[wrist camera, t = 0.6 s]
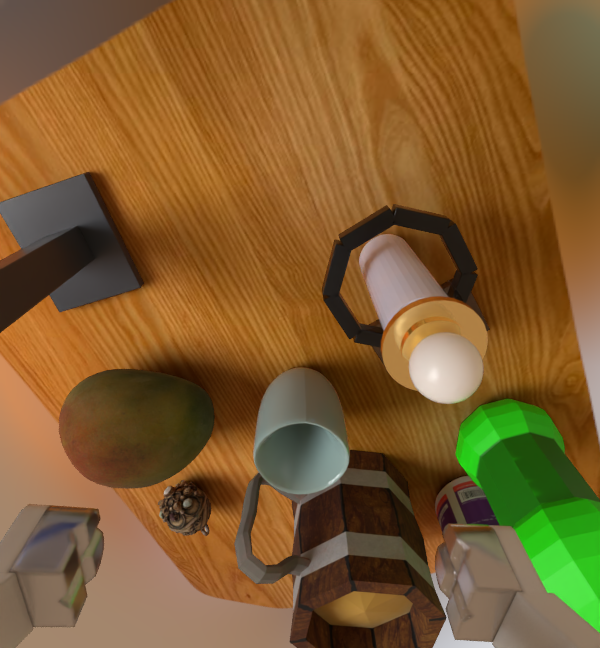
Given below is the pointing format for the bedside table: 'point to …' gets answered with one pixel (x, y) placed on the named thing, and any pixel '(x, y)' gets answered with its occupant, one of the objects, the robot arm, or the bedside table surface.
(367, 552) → the mug
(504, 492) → the plastic bottle
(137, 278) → the pedestal tray stand
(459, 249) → the ring stand
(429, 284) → the perfume bottle
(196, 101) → the bedside table surface
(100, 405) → the fruit
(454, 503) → the pill bottle
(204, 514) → the pendant
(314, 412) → the cup
